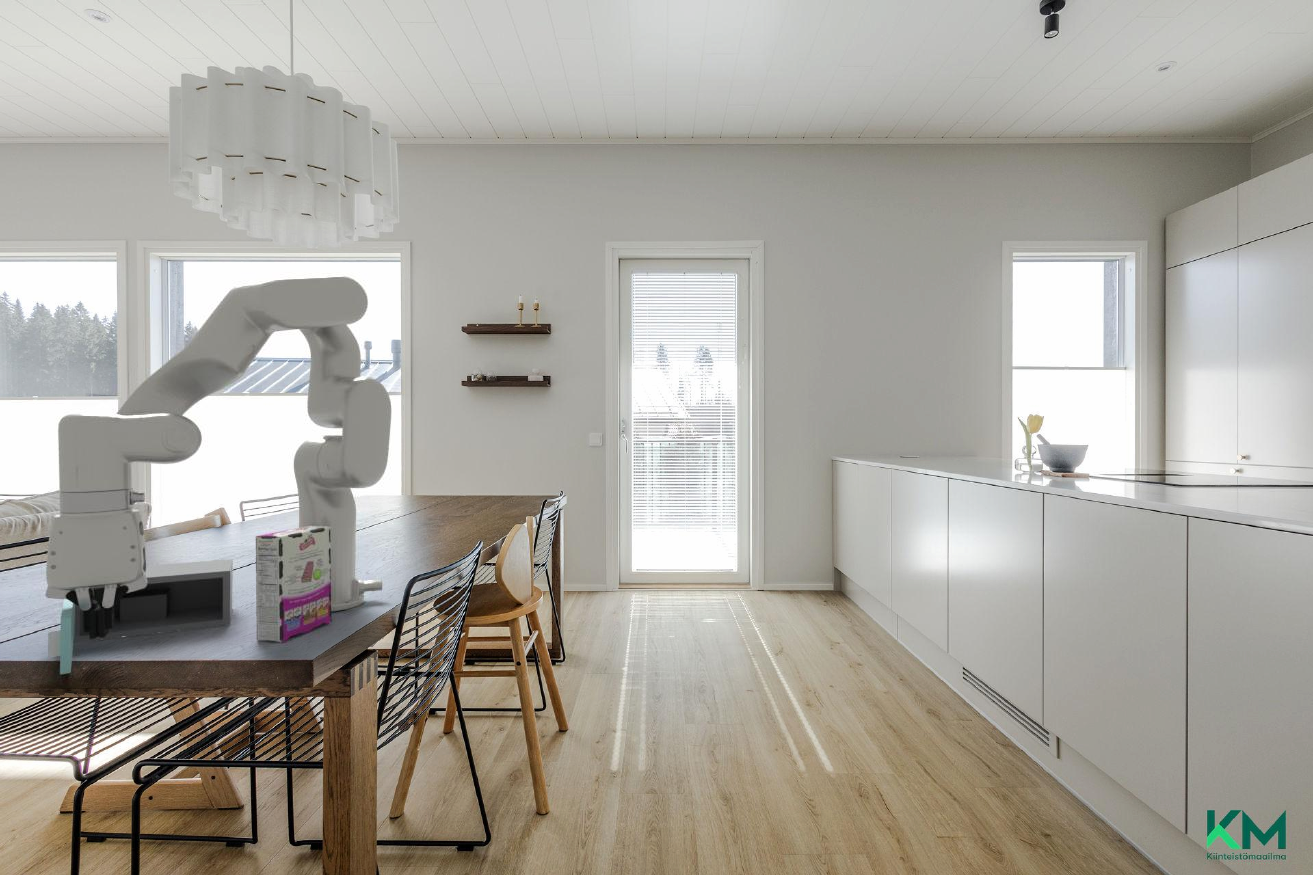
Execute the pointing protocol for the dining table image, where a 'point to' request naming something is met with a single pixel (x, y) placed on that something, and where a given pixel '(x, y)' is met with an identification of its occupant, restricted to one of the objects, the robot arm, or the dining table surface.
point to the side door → (63, 638)
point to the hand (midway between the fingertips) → (99, 635)
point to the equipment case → (170, 601)
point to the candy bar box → (293, 582)
